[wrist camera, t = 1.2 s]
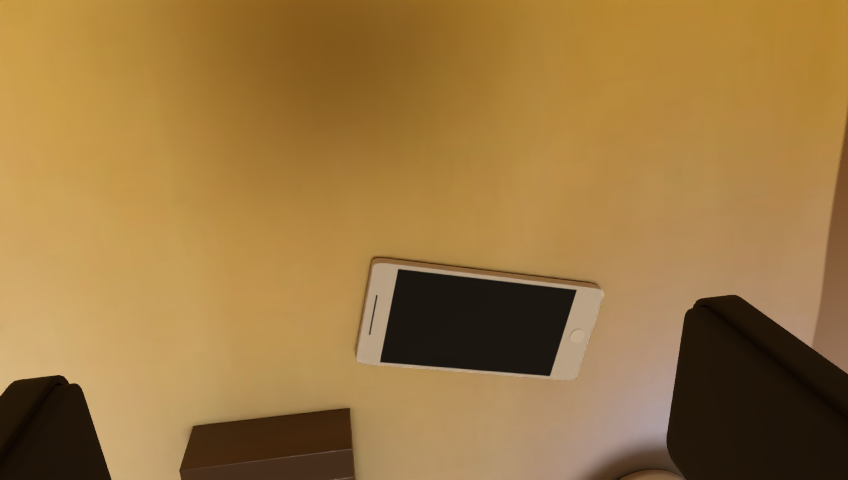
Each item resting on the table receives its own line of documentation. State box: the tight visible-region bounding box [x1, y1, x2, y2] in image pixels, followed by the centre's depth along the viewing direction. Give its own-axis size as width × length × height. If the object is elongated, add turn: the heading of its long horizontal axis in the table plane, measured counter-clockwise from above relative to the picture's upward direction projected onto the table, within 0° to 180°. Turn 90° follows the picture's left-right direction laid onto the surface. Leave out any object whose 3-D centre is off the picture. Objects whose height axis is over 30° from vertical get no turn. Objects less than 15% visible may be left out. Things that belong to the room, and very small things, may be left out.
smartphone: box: [355, 258, 604, 380], centre depth 38 cm, size 7×15×1 cm, turn 79°
